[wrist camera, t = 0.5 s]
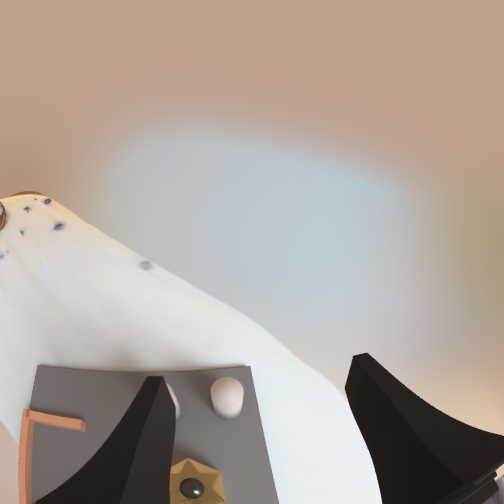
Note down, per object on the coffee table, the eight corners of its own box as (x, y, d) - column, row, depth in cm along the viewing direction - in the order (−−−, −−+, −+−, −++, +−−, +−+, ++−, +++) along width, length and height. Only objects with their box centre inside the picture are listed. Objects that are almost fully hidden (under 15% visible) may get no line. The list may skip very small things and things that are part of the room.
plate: (297, 583, 10) (312, 599, 6) (39, 559, 5) (9, 559, 2) (249, 369, 29) (253, 344, 26) (41, 369, 25) (19, 345, 21)
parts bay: (90, 534, 11) (84, 535, 10) (26, 513, 9) (20, 512, 9) (85, 423, 21) (80, 419, 20) (29, 412, 19) (23, 408, 18)
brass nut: (228, 514, 16) (228, 516, 14) (172, 515, 15) (165, 518, 13) (219, 460, 20) (218, 456, 18) (165, 462, 19) (158, 457, 17)
